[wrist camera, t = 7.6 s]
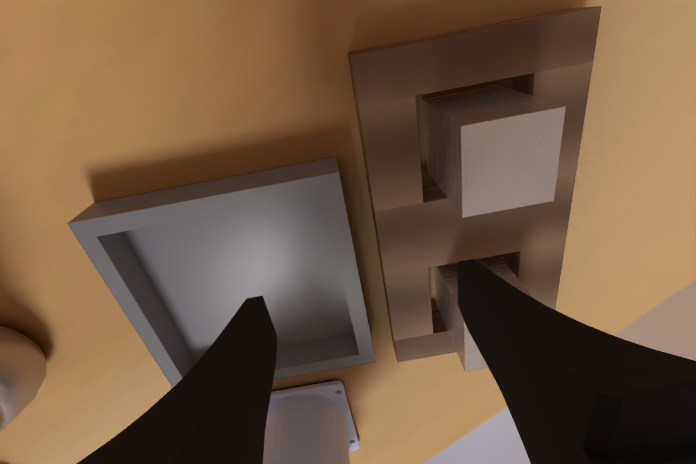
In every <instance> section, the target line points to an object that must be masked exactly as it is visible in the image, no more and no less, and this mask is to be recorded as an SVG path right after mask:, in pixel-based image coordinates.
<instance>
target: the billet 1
mask: <svg viewBox="0 0 696 464" xmlns="http://www.w3.org/2000/svg"><path fill="white" fill-rule="evenodd" d="M422 102H423V118H424V133H425V148H426V164H427V171H428V173H429V174H430V175H431V177H432V178H433V179H434V181H435V182H436V183H437V185H438V186H439V187H440V189H441V190H442V191H443V193H444V194H445V195H446V197H447V198H448V199H449V201H450V202H451V203H452V205H453V206H454V207H455V209H456V210H457V211H458V213H459V214H460V215H461V217H462V218H464V217H469V216H474V215H480V214H485V213H491V212H496V211H502V210H507V209H513V208H518V207H524V206H529V205H535V204H540V203H545V202H551V201H554V196H555V188H556V180H557V172H558V164H559V156H560V148H561V140H562V132H563V124H564V116H565V109H566V106H563V105H560V104H557V103H554V102H550V101H547V100H544V99H541V98H538V97H535V96H532V95H528V94H525V93H522V92H519V91H516V90H513V89H510V88H506V87H503V86H500V85H494V86H489V87H484V88H479V89H473V90H468V91H463V92H458V93H453V94H447V95H442V96H437V97H432V98H427V99H422Z"/></svg>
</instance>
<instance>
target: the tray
mask: <svg viewBox="0 0 696 464" xmlns="http://www.w3.org/2000/svg"><path fill="white" fill-rule="evenodd" d="M67 224H68V226H69V227H70V229H71V230H72V232H73V233H74V235H75V236H76V238H77V240H78V241H79V243H80V244H81V246H82V247H83V249H84V250H85V252H86V254H87V255H88V257H89V258H90V260H91V261H92V263H93V264H94V266H95V268H96V269H97V271H98V272H99V274H100V275H101V277H102V278H103V280H104V282H105V283H106V285H107V286H108V288H109V289H110V291H111V292H112V294H113V296H114V297H115V299H116V300H117V302H118V303H119V305H120V306H121V308H122V310H123V311H124V313H125V314H126V316H127V317H128V319H129V321H130V322H131V324H132V325H133V327H134V328H135V330H136V331H137V333H138V335H139V336H140V338H141V339H142V341H143V342H144V344H145V345H146V347H147V349H148V350H149V352H150V353H151V355H152V356H153V358H154V359H155V361H156V363H157V364H158V366H159V367H160V369H161V370H162V372H163V373H164V375H165V377H166V378H167V380H168V381H169V383H170V384H171V386H172V387H174V386H175V385H176V384H177V383H178V382H179V381H180V380H181V379H182V378H183V377H184V376H185V375H186V374H187V373H188V372H189V371H190V370H191V369H192V368H193V366H194V365H195V364H196V363H197V362H198V361H199V360H200V358H201V357H202V356H203V355H204V354H205V352H206V351H207V350H208V349H209V348H210V346H211V345H212V344H213V343H214V342H215V340H216V339H217V338H218V336H219V335H220V334H221V332H222V331H223V330H224V328H225V327H226V326H227V324H228V323H229V322H230V320H231V319H232V317H233V316H234V315H235V313H236V312H237V310H238V309H239V308H240V306H241V305H242V304H243V302H244V301H245V300H246V298H252V297H257V296H263V298H264V301H265V303H266V306H267V309H268V312H269V315H270V317H271V320H272V323H273V326H274V329H275V331H276V334H277V355H276V366H275V373H274V379H273V380H277V379H282V378H288V377H294V376H300V375H305V374H311V373H317V372H322V371H328V370H334V369H339V368H345V367H351V366H357V365H362V364H368V363H374V362H376V360H375V354H374V348H373V342H372V336H371V331H370V326H369V321H368V316H367V310H366V305H365V300H364V295H363V290H362V285H361V280H360V274H359V269H358V264H357V259H356V254H355V249H354V244H353V238H352V233H351V228H350V223H349V218H348V213H347V208H346V202H345V197H344V192H343V187H342V182H341V177H340V172H339V166H338V161H337V157H332V158H327V159H322V160H317V161H311V162H306V163H301V164H296V165H290V166H285V167H280V168H275V169H269V170H264V171H259V172H254V173H248V174H243V175H238V176H233V177H227V178H222V179H217V180H212V181H206V182H201V183H196V184H190V185H185V186H180V187H175V188H169V189H164V190H159V191H154V192H148V193H143V194H138V195H133V196H127V197H122V198H117V199H112V200H106V201H101V202H96V203H93V204H92V205H91V206H89V207H88V208H87V209H85V210H84V211H83V212H82V213H80V214H79V215H78V216H76V217H75V218H74V219H73V220H71V221H70V222H69V223H67Z"/></svg>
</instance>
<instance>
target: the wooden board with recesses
mask: <svg viewBox="0 0 696 464" xmlns="http://www.w3.org/2000/svg"><path fill="white" fill-rule="evenodd" d="M600 12H601V6H599V7H586V8H573V9H568V10H563V11H558V12H553V13H548V14H543V15H538V16H533V17H527V18H522V19H517V20H512V21H507V22H502V23H497V24H492V25H487V26H482V27H477V28H472V29H467V30H462V31H457V32H451V33H446V34H441V35H436V36H431V37H426V38H421V39H416V40H411V41H406V42H401V43H396V44H391V45H386V46H381V47H376V48H370V49H365V50H360V51H355V52H350V53H348V58H349V64H350V70H351V77H352V83H353V90H354V96H355V103H356V109H357V115H358V122H359V128H360V135H361V141H362V148H363V154H364V161H365V167H366V173H367V180H368V186H369V193H370V199H371V206H372V212H373V219H374V225H375V231H376V238H377V244H378V251H379V257H380V264H381V270H382V276H383V283H384V289H385V296H386V302H387V309H388V315H389V322H390V328H391V334H392V341H393V345H394V350H395V354H396V358H397V362H402V361H408V360H414V359H419V358H425V357H431V356H436V355H442V354H448V353H454V352H456V349H455V347H454V345H453V342H452V340H451V337H450V335H449V333H448V330H447V328H446V326H445V323H444V321H443V319H442V316H441V314H440V311H437V312H432V310H431V297H430V284H429V270H428V268H429V267H435V266H440V265H446V264H452V263H457V262H459V261H464V260H470V259H479V258H485V257H490V256H496V255H501V254H504V262H505V263H506V264H507V265H508V267H509V268H510V269H511V270H512V272H513V273H514V274H515V275H516V277H517V278H518V279H519V280H520V282H521V283H522V284H523V285H524V287H525V288H526V289H527V291H528V292H529V293H530V294H531V296H532V297H533V298H534V299H536V300H537V301H539V302H541V303H543V304H544V305H546V306H548V307H550V308H552V309H554V310H555V307H556V301H557V294H558V288H559V281H560V275H561V268H562V261H563V255H564V248H565V242H566V235H567V229H568V222H569V215H570V209H571V202H572V196H573V189H574V183H575V176H576V170H577V163H578V156H579V150H580V143H581V137H582V130H583V124H584V117H585V110H586V104H587V97H588V91H589V84H590V78H591V71H592V65H593V58H594V51H595V45H596V38H597V32H598V25H599V19H600ZM511 77H514V87H513V90H516V91H519V92H522V93H525V94H528V95H532V96H535V97H538V98H541V99H544V100H547V101H550V102H554V103H557V104H560V105H563V106H566V109H565V116H564V124H563V132H562V140H561V148H560V156H559V164H558V172H557V180H556V188H555V196H554V201H551V202H545V203H540V204H535V205H529V206H524V207H518V208H513V209H507V210H502V211H496V212H491V213H485V214H480V215H474V216H469V217H464V218H462V217H461V215H460V214H459V213H458V211H457V210H456V209H455V207H454V206H453V205H452V203H451V202H450V201H449V199H448V198H447V197H446V195H445V194H444V193H443V191H442V190H441V189H440V187H439V186H438V185H432V186H426V187H422V177H421V163H420V150H419V137H418V123H417V110H416V96H418V95H423V94H428V93H433V92H439V91H444V90H449V89H454V88H459V87H464V86H470V85H475V84H480V83H485V82H490V81H495V80H501V79H506V78H511Z"/></svg>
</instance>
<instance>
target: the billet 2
mask: <svg viewBox="0 0 696 464" xmlns="http://www.w3.org/2000/svg"><path fill="white" fill-rule="evenodd" d="M475 260H477V261H478V262H480V263H481V264H482V265H484V266H485V267H487V268H488V269H489V270H491V271H492V272H494V273H495V274H497V275H498V276H499V277H501V278H502V279H504V280H505V281H507V282H508V283H510V284H511V285H513V286H514V287H516V288H518V289H519V290H521V291H522V292H524V293H526V294H527V295H529V296H531V294H530V293H529V292H528V291H527V289H526V288H525V287H524V285H523V284H522V283H521V282H520V280H519V279H518V278H517V277H516V275H515V274H514V273H513V272H512V270H511V269H510V268H509V267H508V265H507V264H506V263H505V262H504V260H503V259H502V258H501V256H500V255H496V256H490V257H485V258H479V259H475ZM434 282H435V297H436V304H437V307H438V309H439V311H440V314H441V316H442V319H443V321H444V323H445V326H446V328H447V330H448V333H449V335H450V337H451V340H452V342H453V345H454V347H455V349H456V352H457V354H458V356H459V359H460V361H461V363H462V366H463V368H464V371H465V372H466V371H472V370H477V369H483V368H489V367H488V366H487V364H486V362H485V360H484V358H483V357H482V355H481V353H480V351H479V349H478V347H477V346H476V344H475V342H474V340H473V338H472V336H471V335H470V333H469V331H468V329H467V326H466V324H465V321H464V319H463V316H462V314H461V311H460V308H459V306H458V265H457V263H452V264H446V265H440V266H435V267H434ZM531 297H532V296H531ZM532 298H533V297H532Z"/></svg>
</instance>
